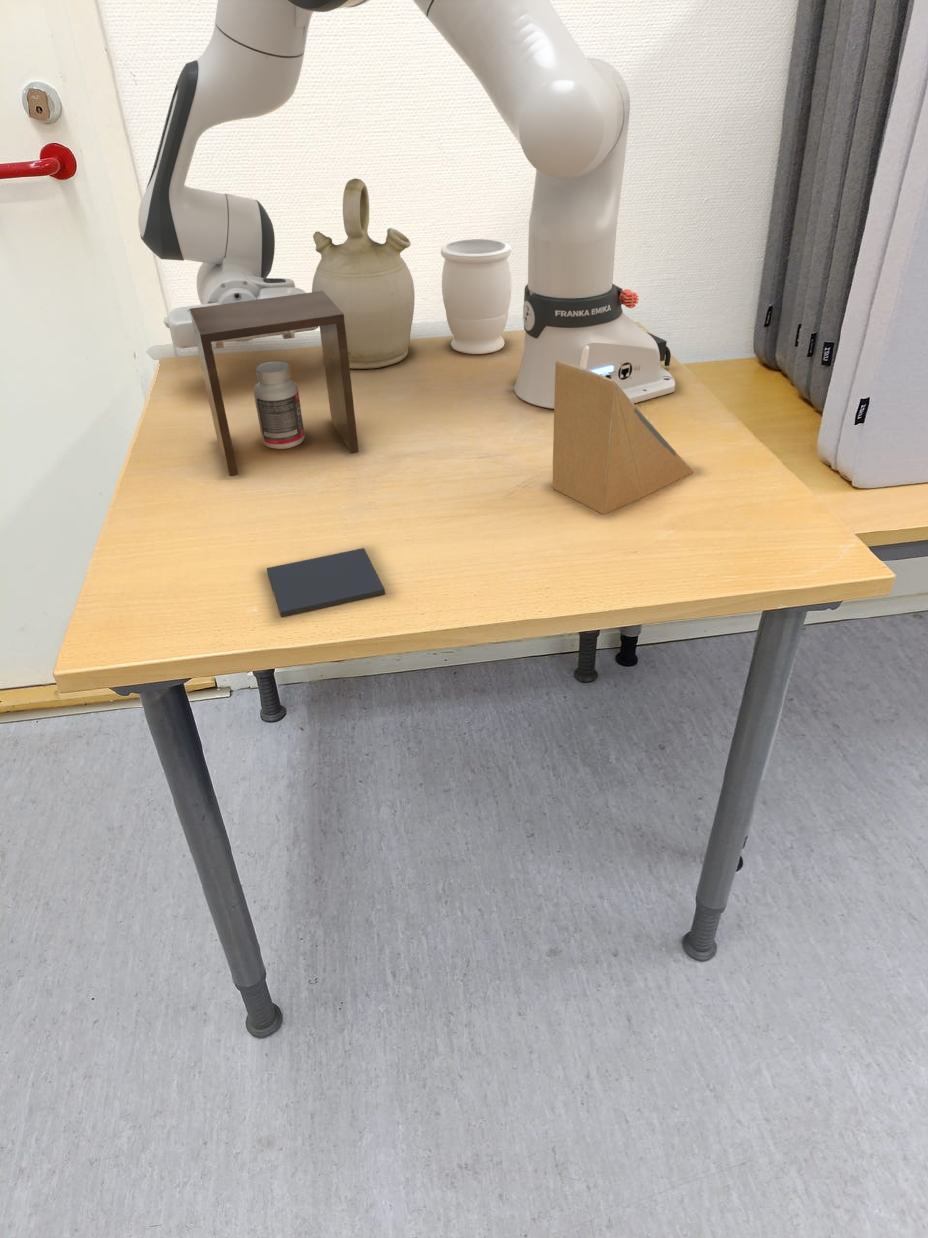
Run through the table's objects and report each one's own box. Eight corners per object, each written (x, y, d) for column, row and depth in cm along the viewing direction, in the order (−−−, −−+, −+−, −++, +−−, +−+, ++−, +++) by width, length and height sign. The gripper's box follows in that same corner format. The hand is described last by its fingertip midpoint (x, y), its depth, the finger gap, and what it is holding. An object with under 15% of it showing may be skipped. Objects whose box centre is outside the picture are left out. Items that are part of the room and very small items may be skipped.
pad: (364, 552, 89) (364, 547, 88) (385, 594, 83) (384, 589, 82) (267, 572, 86) (266, 567, 86) (281, 617, 80) (280, 611, 80)
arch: (217, 442, 111) (189, 308, 101) (339, 421, 115) (323, 290, 105) (229, 476, 103) (199, 334, 93) (358, 451, 108) (343, 313, 97)
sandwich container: (697, 472, 101) (716, 344, 92) (605, 515, 93) (615, 381, 84) (641, 448, 106) (654, 325, 97) (550, 487, 99) (555, 358, 90)
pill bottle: (312, 442, 110) (301, 368, 104) (273, 454, 108) (259, 378, 102) (294, 428, 114) (283, 355, 108) (256, 439, 111) (242, 365, 106)
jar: (520, 339, 139) (521, 240, 130) (495, 361, 131) (494, 257, 122) (461, 332, 143) (458, 235, 134) (433, 352, 135) (428, 251, 126)
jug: (434, 344, 138) (426, 171, 123) (389, 379, 127) (373, 192, 112) (351, 334, 143) (334, 166, 128) (300, 366, 132) (275, 186, 117)
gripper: (157, 294, 120) (167, 324, 109) (302, 276, 125) (325, 303, 115) (167, 339, 123) (178, 372, 113) (308, 320, 129) (330, 350, 119)
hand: (253, 337), depth 114 cm, fingers open, 8 cm apart
